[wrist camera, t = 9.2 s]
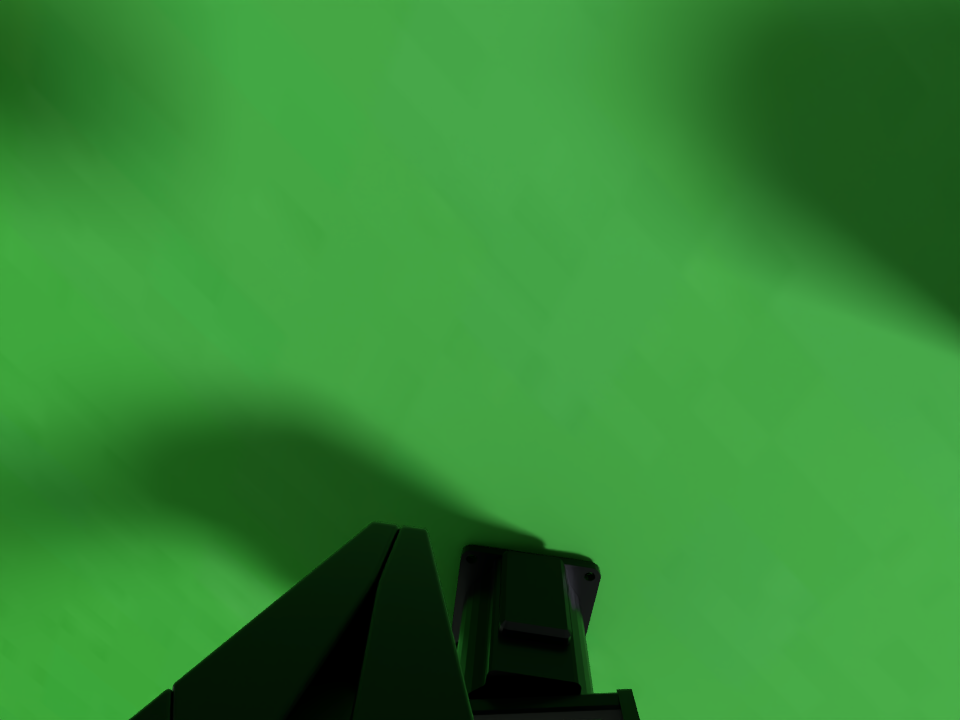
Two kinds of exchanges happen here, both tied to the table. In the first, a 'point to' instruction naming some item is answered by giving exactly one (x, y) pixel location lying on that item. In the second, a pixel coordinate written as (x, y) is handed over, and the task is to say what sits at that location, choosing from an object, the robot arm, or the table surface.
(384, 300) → the table surface
